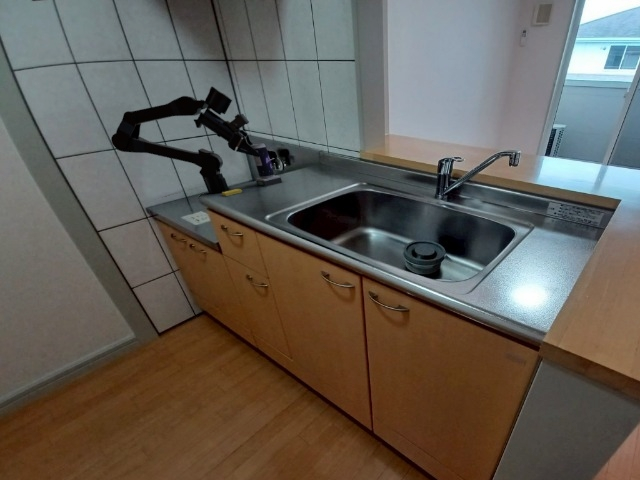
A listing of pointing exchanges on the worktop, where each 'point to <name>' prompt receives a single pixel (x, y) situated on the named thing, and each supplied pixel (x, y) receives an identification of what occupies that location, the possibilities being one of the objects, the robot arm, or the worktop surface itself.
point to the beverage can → (263, 161)
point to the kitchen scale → (268, 181)
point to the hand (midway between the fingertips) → (260, 154)
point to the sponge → (231, 192)
